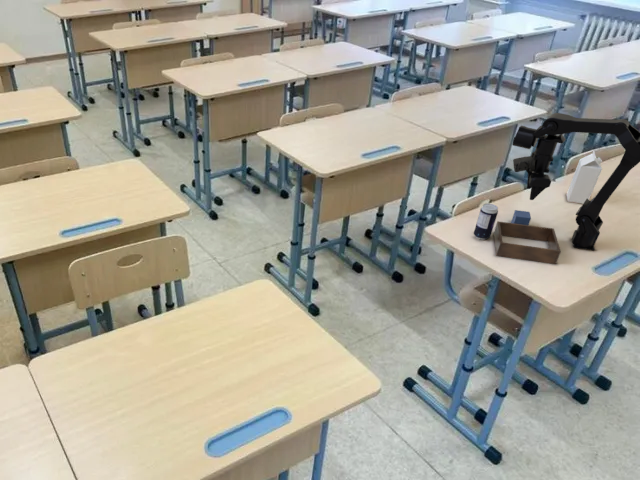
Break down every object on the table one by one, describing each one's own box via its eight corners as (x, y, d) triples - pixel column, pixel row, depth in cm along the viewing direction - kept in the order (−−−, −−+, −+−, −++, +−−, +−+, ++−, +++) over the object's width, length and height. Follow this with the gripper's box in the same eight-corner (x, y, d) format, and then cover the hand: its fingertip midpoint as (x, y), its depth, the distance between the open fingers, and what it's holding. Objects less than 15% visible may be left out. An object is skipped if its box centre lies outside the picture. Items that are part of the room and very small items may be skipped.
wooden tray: (549, 240, 196) (554, 228, 192) (555, 264, 184) (560, 251, 181) (493, 233, 200) (497, 221, 197) (496, 255, 188) (500, 243, 185)
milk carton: (567, 201, 219) (585, 156, 207) (566, 194, 224) (583, 149, 212) (587, 204, 217) (606, 159, 205) (585, 197, 222) (604, 152, 210)
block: (525, 223, 205) (529, 211, 202) (526, 230, 201) (531, 218, 198) (511, 221, 206) (515, 210, 203) (512, 228, 203) (516, 216, 200)
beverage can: (490, 241, 195) (500, 211, 188) (474, 239, 196) (482, 209, 189) (488, 233, 200) (497, 203, 192) (472, 231, 201) (480, 202, 193)
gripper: (516, 139, 195) (503, 180, 205) (521, 160, 181) (507, 202, 191) (550, 143, 193) (536, 184, 202) (558, 164, 179) (542, 207, 188)
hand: (529, 194), depth 196 cm, fingers open, 9 cm apart
